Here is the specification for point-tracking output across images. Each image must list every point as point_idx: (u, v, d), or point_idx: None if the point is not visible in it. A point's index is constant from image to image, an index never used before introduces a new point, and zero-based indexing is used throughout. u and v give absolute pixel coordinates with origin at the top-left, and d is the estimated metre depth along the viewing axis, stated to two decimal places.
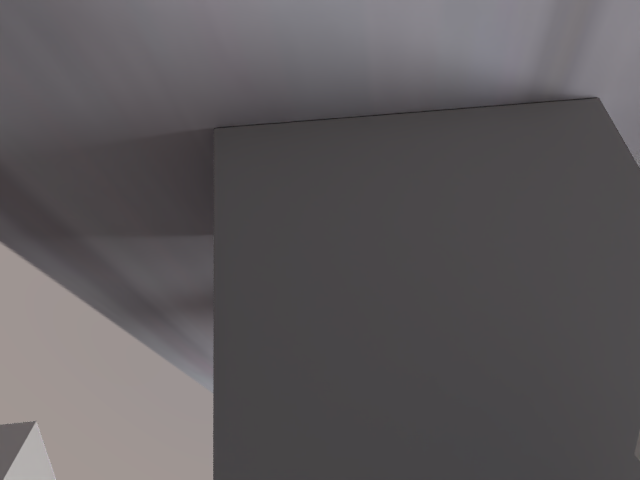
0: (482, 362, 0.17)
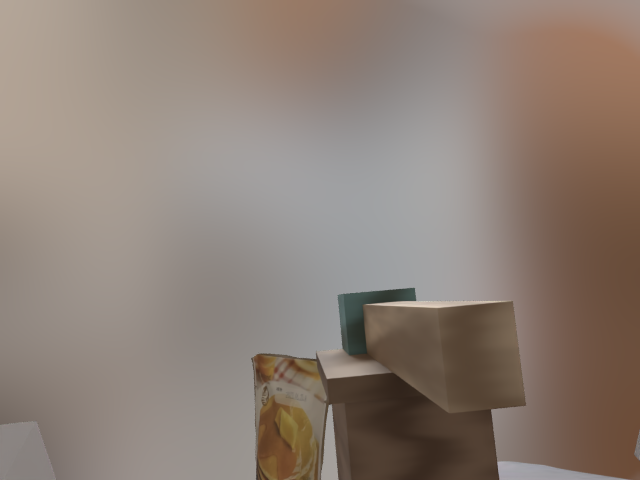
0: None
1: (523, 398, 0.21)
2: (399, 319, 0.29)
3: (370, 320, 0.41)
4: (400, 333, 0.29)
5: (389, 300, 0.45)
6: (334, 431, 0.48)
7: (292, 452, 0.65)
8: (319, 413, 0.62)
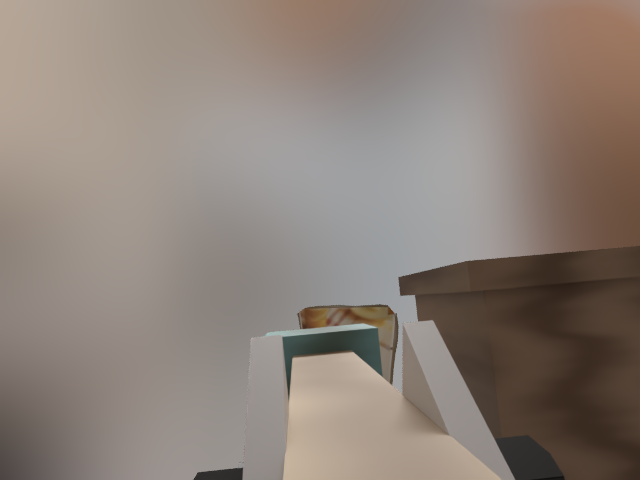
0: None
1: None
2: None
3: None
4: None
5: (336, 348, 0.28)
6: None
7: None
8: (385, 361, 0.57)
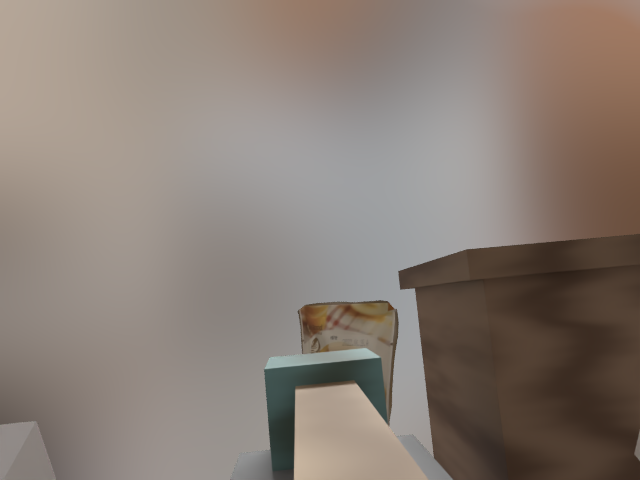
0: None
1: None
2: None
3: None
4: None
5: (339, 378, 0.28)
6: (423, 358, 0.43)
7: None
8: (385, 357, 0.57)
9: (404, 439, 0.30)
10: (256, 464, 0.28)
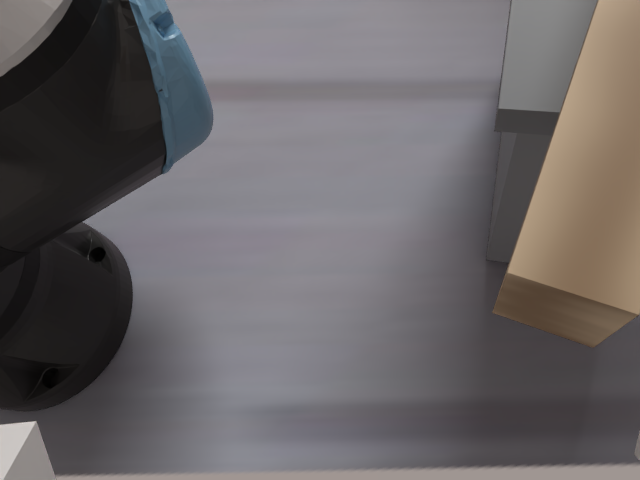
0: None
1: (593, 345, 0.16)
2: None
3: None
4: None
5: None
6: None
7: None
8: None
9: None
10: None
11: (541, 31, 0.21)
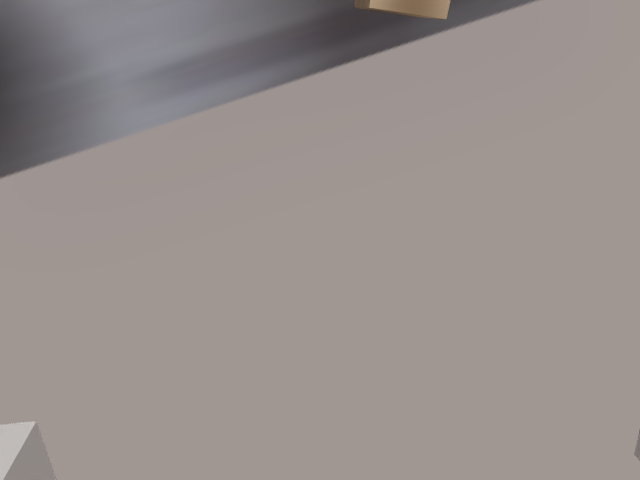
0: None
1: (420, 17, 0.24)
2: None
3: None
4: None
5: None
6: None
7: None
8: None
9: None
10: None
11: None
